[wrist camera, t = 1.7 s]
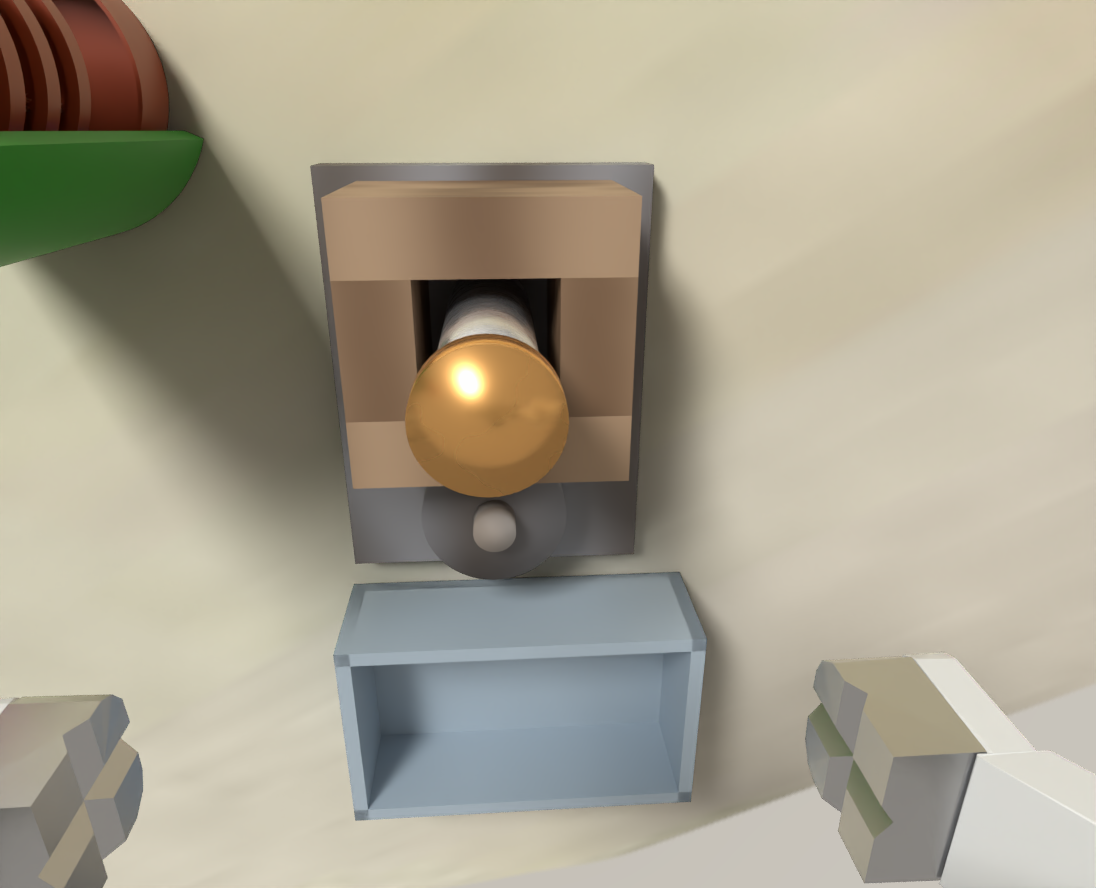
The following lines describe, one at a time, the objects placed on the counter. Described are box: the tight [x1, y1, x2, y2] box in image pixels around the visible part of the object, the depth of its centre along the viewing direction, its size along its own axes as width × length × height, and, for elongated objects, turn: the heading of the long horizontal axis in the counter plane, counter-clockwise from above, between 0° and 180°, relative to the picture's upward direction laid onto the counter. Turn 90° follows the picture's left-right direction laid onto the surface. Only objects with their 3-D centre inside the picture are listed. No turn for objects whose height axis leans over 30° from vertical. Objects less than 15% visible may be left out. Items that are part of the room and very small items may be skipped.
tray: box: [333, 572, 707, 821], centre depth 35 cm, size 15×9×5 cm, turn 90°
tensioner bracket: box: [310, 163, 654, 580], centre depth 28 cm, size 12×16×8 cm
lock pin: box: [405, 279, 569, 497], centre depth 23 cm, size 4×4×12 cm
